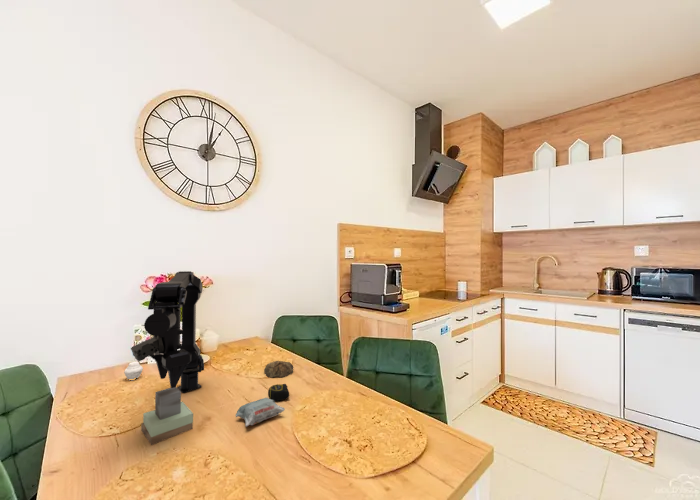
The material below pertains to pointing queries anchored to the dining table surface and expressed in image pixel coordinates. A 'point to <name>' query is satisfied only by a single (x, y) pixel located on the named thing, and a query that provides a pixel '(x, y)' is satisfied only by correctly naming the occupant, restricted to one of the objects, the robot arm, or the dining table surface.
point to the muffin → (133, 370)
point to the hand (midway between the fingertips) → (167, 382)
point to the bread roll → (278, 369)
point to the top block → (167, 421)
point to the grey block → (167, 403)
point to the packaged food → (258, 411)
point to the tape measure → (278, 392)
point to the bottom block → (165, 435)
